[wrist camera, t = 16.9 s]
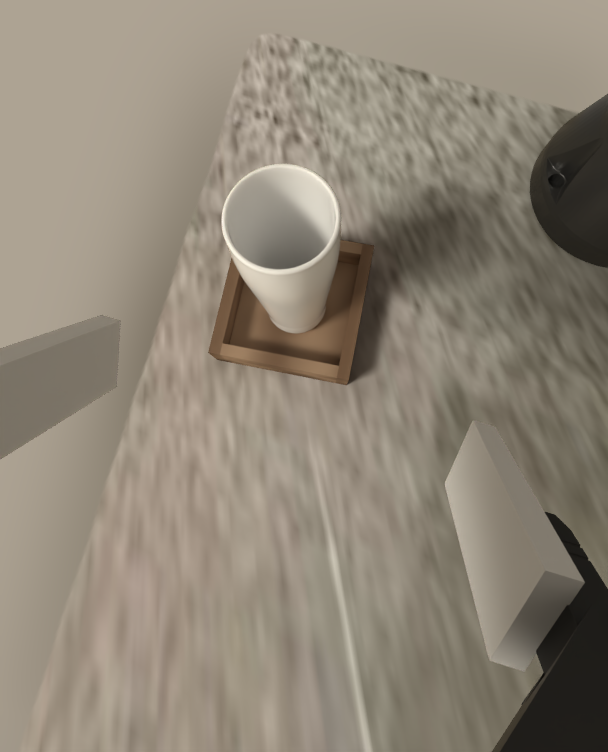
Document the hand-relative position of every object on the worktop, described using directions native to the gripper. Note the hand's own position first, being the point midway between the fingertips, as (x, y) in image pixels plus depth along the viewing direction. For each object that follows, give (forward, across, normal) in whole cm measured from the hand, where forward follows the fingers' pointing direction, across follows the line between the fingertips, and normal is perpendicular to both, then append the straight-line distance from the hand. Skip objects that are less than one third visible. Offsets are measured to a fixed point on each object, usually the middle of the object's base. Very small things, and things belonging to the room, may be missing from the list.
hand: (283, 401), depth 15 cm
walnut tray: (+24, -4, -2) cm, 24 cm away
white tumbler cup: (+23, -4, -2) cm, 24 cm away
